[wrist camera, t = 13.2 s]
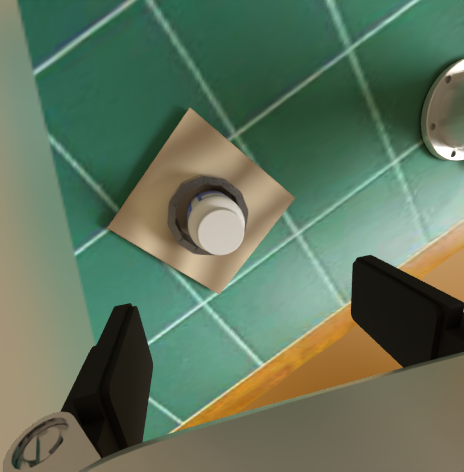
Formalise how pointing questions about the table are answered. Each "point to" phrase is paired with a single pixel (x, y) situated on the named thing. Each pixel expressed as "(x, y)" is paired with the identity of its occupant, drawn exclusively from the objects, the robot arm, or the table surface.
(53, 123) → the table surface
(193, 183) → the collar
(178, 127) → the stand plate
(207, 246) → the pill bottle
